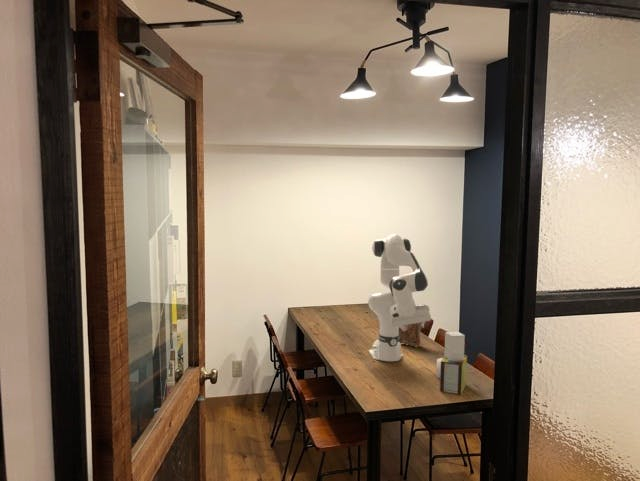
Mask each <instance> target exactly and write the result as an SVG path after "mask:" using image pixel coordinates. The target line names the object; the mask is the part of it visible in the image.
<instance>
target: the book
mask: <svg viewBox="0 0 640 481" xmlns="http://www.w3.org/2000/svg"><path fill="white" fill-rule="evenodd" d="M421 323H422V322H420V323H414V324H408V325H403V327H404V326H405V328H406V331H403V330H402V329H401V328H399V342H400V343H404V344H408V345H412V346H419V345H420V346H421V329H422V328H421ZM412 346H411V347H412Z"/></svg>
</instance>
